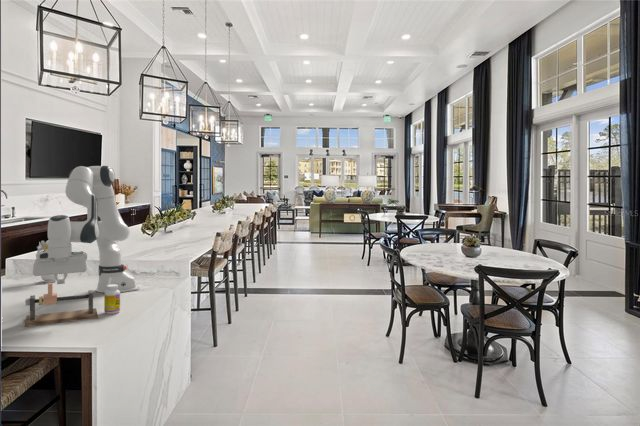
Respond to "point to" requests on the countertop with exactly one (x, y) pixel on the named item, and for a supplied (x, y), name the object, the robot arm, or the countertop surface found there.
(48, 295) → the peach stepped block
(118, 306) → the supplement bottle
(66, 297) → the dark gray rod
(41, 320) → the towel rod holder
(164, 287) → the countertop surface
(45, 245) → the flower vase
